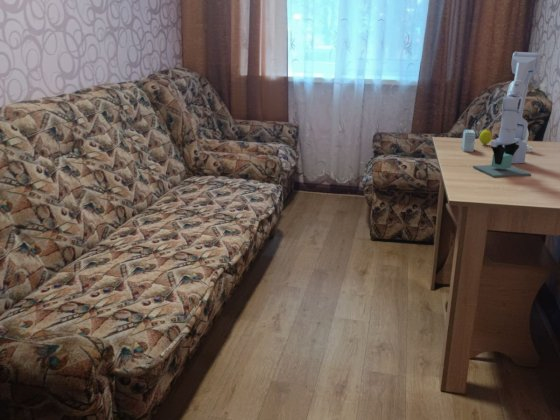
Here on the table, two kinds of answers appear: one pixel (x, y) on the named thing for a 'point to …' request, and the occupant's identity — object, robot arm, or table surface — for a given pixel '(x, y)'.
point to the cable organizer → (529, 149)
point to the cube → (503, 162)
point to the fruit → (485, 137)
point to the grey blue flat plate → (501, 171)
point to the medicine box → (468, 140)
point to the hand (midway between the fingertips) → (502, 163)
